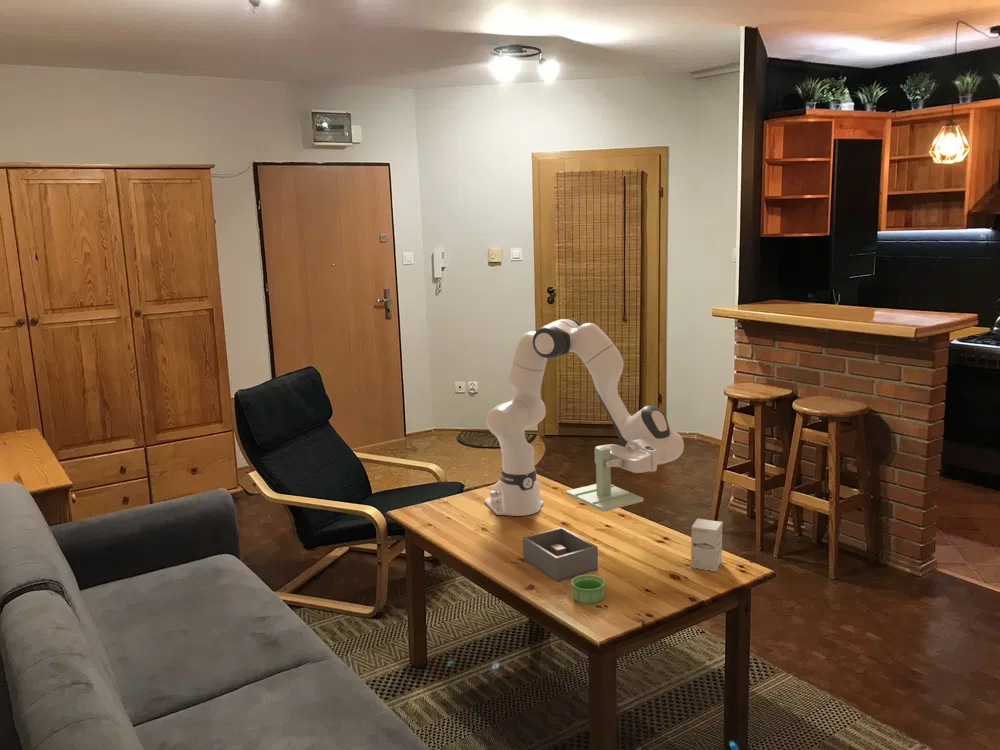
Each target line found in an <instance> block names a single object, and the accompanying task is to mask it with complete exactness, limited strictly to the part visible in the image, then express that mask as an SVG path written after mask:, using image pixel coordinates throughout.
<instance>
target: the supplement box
mask: <svg viewBox="0 0 1000 750" xmlns="http://www.w3.org/2000/svg"><path fill="white" fill-rule="evenodd" d="M723 525H724V523H723V521H717V520H710V519H705V518H703V519H702V518H696V520H695V521H694V523H693V524H692V525H691V538H690V539H691V540H690V541H691V545H690V546H691V547H690V549H691V550H690V568H691V569H696V568H698V569H697V570H702V569H704V570H703V571H708V570H710V571H709V572H713V571H716V572H717V571H718V570H719V568H720V566H721V563H722V554H723ZM719 565H720V566H719ZM692 567H693V568H692ZM718 567H719V568H718Z"/></svg>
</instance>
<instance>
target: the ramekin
mask: <svg viewBox="0 0 1000 750" xmlns="http://www.w3.org/2000/svg"><path fill="white" fill-rule="evenodd" d="M570 581H571V582H570V584H571V588H572V597H573V598H574V600H575V601H577V602H579V603H580V604H586V605H588V604H590V605H591V604H597V603H599V602H602V600H603V599H604V595H605V586H606V581H605V579H604V578H603V577H601V576H598V575H596V574H582V575H579V576H576V577H572V578H571V580H570Z"/></svg>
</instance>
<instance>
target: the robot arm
mask: <svg viewBox="0 0 1000 750" xmlns="http://www.w3.org/2000/svg"><path fill="white" fill-rule="evenodd" d="M568 353H574V354H576V355H577V356H578V357H579V358H580V360H581V361H582V363H583V364H584V365H585V367H586V368H587V370H588V373H589V374H590V375H591V378H592V380H593V387H594V391H595V393H596V394H597V397H598V399H599V400H600V402H601V404H602V406H603V408H604V410H605V412H606V413H607V415H608V417H609V418H610V421H611V422H612V425H613V427H614V430H615V433H616V436H617V438H618V441H619V442H620V443H621V444H622V445H620V444H615V443H613V444H612V443H610V444H603V445H602V444H601V445H597V446H595V447H594V463H595V464H596V448H601V447H606V448H609V449H610V460H605V461H604V466H605V467H611V468H621V469H623V470H627V471H629V472H631V473H635V474H641V473H648V472H651V473H652V472H656V471H657V469H658V465H663V464H667V463H670V462H673V461H675V460H678V458H681V455H683V452H684V447H685V443H684V439H683V437H682V436H681V434H680V433H678V432H676V431H675V430H674V429H673V427H672V426H671V425H670V424H669V422H668V419H667V416H666V414H665V413H664V411H663V410H662V409H660V408H659V407H657V406H654V405H653V404H651V405H645V406H644V407H643V408H641V409H640V410H638V411H637V412H635V413H634V414H633V415H631V414H630V413H629V411H628V409H627V408H626V406H625V404H624V402H623V400H622V398H621V396H620V395H619V391H618V388H619V387H618V385H619V382H620V378H621V376H622V374H623V370H624V363H625V361H624V359H623V357H622V354H621V353H620V351H619V349H618V348H617V346H616V345H615V344H614V343H613V341H612V340H611V339H610V337H609V336H608V335H607V334H606V333H605V332H604V331H603V330H602V328H600V327H599V326H598V325H597V324H596V323H592V322H586V323H583V324H582V323H581V322H580V321H578V320H577V319H575V318H571V317H570V318H569V317H565V318H561V319H557V320H553V321H551V322H550V323H548V324H546V325H543V326H541V327H539V328H538V329H537V330H536V331H535V330H532V331H531V330H530V331H527V332H524V333H523V334H522V335H521V336H520V338H519V341H518V343H517V346H516V349H515V352H514V355H513V359H512V362H511V363H512V364H511V367H510V371H509V376H508V384H509V386H510V387H511V388H512V391H513V393H512V394H513V395H512V397H511V400H509V401H506V402H503V403H500V404H497V405H496V406H495V407H493V408H492V409H490V411H489V412H488V413H487V414H486V426H487V429H488V431H489V432H490V433H491V434H492V435H494V436H495V437H496V439H497V441H498V442H499V447H500V451H501V459H502V460H501V461H502V462H501V464H502V469H500V472H499V474H500V478H499V480H498V481H497V482H496V483H494V484H493V485H492V486H491V489H490V490H491V491H490V493H489V495H490V496H489V497H486V498H485V499H484V503H485V504H486V505H487V507H489V508H490V509H491V511H492V512H493V513H494V514H495V515H497V516H512V517H514V516H515V517H519V516H521V517H523V516H530V515H533V514H535V513H539V512H540V510H542V509H541V508H542V506H543V505H544V501H543V500H541V491H540V484H539V482H538V481H537V470H536V468H535V450H534V447H533V445H532V444H531V443H529V442H528V440H527V438H526V433H525V431H526V430H528V429H530V428H533V427H536V426H537V425H538V424H539V423H541V422H542V421H543V420H544V418H545V417H546V415H547V414H546V413H547V411H546V410H547V408H546V404H545V403H544V401H543V400H542V396H541V391H542V390H541V389H542V384H543V379H544V374H545V371H546V366H547V361H548V359H554V358H555V359H556V358H558V357H560V356H561V357H562V356H564V355H566V354H568Z"/></svg>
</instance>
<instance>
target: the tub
mask: <svg viewBox="0 0 1000 750" xmlns="http://www.w3.org/2000/svg"><path fill="white" fill-rule="evenodd" d="M598 550H599V549H598V546H597V545H595V544H594V543H592V542H590V541H588V540H587V539H585V538H583V537H581V536H579V535H577V534H576V533H573V532H572V531H570V530H568V529H566V528H565V527H563V526H562V527H558V528H553V529H550V530H546V531H541V532H538V533H535V534H530V535H527V536H523V537H522V556H523V557H522V559H523V561H525V562H526V563H527V564H529V565H531V566H532V567H534V568H535V569H536V570H538V571H540V572H541V573H543V574H544V575H546V576H547V577H549V578H550V579H552V580H554V581H555V582H556V583H558V582H562V581H565V580H569V579H573V578H575V577H577V576H580V575H587V574H588V573H591V572H595V571H598V570H599V555H598V554H599V553H598V552H599V551H598Z"/></svg>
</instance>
